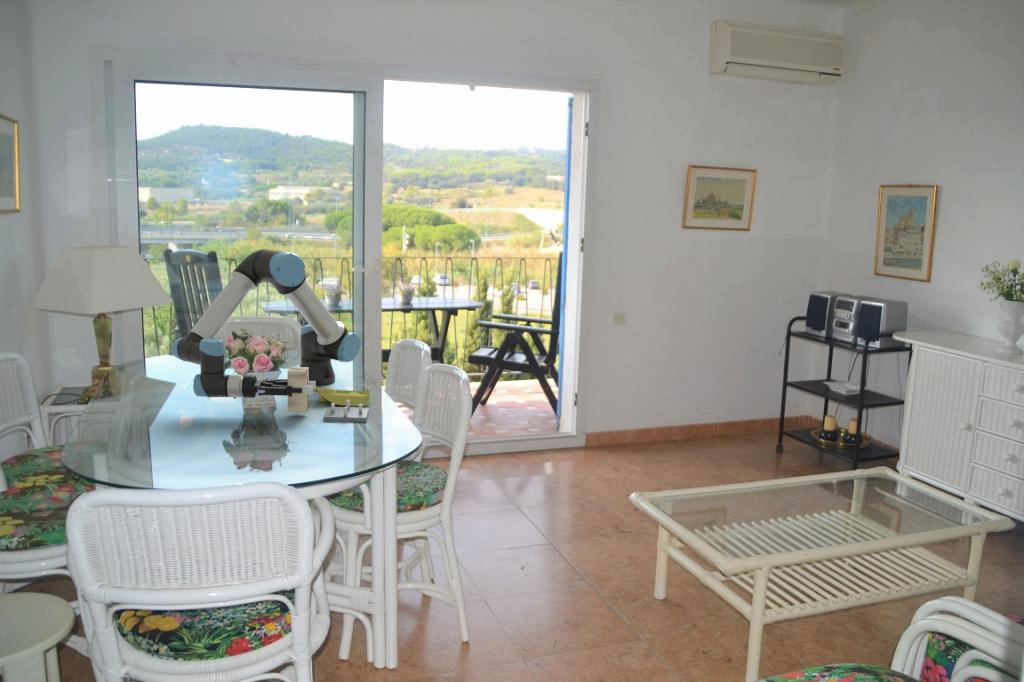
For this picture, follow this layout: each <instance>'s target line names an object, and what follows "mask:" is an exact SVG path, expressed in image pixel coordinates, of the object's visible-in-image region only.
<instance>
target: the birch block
mask: <svg viewBox="0 0 1024 682" xmlns="http://www.w3.org/2000/svg"><path fill="white" fill-rule="evenodd" d="M287 379H288V386H309V367H299V366H290V367H289V368H288V369H287ZM309 399H310V394H292V396H291V397H289V396H287V412H288V413H307V411H308V409H309V408H310V400H309Z"/></svg>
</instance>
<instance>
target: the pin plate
mask: <svg viewBox="0 0 1024 682" xmlns="http://www.w3.org/2000/svg"><path fill="white" fill-rule="evenodd" d="M330 403H331V402H330ZM369 412H370V409H369V408H367V407H363V406H362V404H359V406H358V407H351V406H350V400H346V406H344V407H336V404H335V403H331V404H330V407H329V406H328V407H327V408H326V411H325V412H324V415H323V422H335V421H339V422H338V423H341V422H343V423H344V422H347V423H348V422H349V423H367V421H368V417H369Z"/></svg>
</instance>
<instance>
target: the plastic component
mask: <svg viewBox="0 0 1024 682" xmlns="http://www.w3.org/2000/svg"><path fill="white" fill-rule="evenodd" d="M370 389H371V388H370V387H367V388H366V389H365V390H359V391H358V390H345V389H342V390H341V389H333V388H327V387H322V388H320V387H318V385H316V389H313V392H315V393H318V394H319V395H320V400H319V401H320V403H322V402H329V403H335V405H337V406H344V407H346V400H350V407H359V404H362V407H366V406H367V405H368V404H369V403H370Z"/></svg>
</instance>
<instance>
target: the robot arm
mask: <svg viewBox="0 0 1024 682" xmlns="http://www.w3.org/2000/svg"><path fill="white" fill-rule="evenodd" d="M306 272H307V271H306V265H305V262H304V260H303V259H302V258H301V257H300V256H299V255H298V254H296V253H293V252H290V251H285V250H274V249H266V248H263V249H258V250H255V251H252V252H251V253H250V254H248V255H247V256H246V257H245V258H244V259H242V260H241V262H240V263H238V265H237V266H236V267H235V268H234V269H233V271H232V273H231V278H230V280H228V282H227V283H226V285H225V286H224V287H223V289H222V290H221V291H220V293H219V294H218V295H217V296H216V297H215V299H214V300H213V302H212V303H211V304H210V305H209V306H208V307H207V309H206V310H205V312H204V313H203V314H202V315H201V317H200V318H199V319H198V321H197V322H196V323H195V325H194V326H193V327H192V328H191V330H190V331H189V332H188V333H187V335H185V337H180V338H177V339H176V340H174V342H173V344H172V345H171V352H172V355H173V356H174V357H175V358H177V359H178V360H181V361H183V362H186V363H187V362H188V363H192V364H195V365H198V366H200V373H198V374H196V375H195V376H194V378H193V385H192V386H193V387H192V388H193V389H192V390H193V393H194V395H195V396H196V397H201V398H202V397H203V398H233V400H236V399H237V398H242V397H243V398H249V399H250V398H251V399H254V398H255V397H256V396H257V395H258V396H284V397H288V396H289V397H291V396H292V394H309V395H314V389H316V386H323V385H330V384H333V383H335V382H336V374H335V371H334V368H333V364H332V360H334V361H339V362H341V363H342V362H343V363H350V362H353V361H354V360H355V359H356V358H357V357H358V355H359V353H360V352H361V344H362V343H361V337H360V335H358V334H357V333H356V332H353V331H352V332H351V331H349V330H348V329H347V327H346V326H345V325H344V323H343V322H342V321H339V320H338V321H336V319H335V318H334V316H333V315H332V314H331V313H330V311H329V310H328V308H327V307H326V306H325V305H324V304H323V302H322V301H321V299H320V298H319V297H318V295H317V294H316V292H314V290H313V288H312V287H311V286H310V285H309V284H308V282H307V274H306ZM262 283H268V284H271V286H272V287H274V289H275V291H277V293H278V294H279V295H280V296H281V295H282V296H286V297H287V298H288V300H289V301H290V302H291V303H292V305H293V306H294V307H295V308H296V309H297V311H298V312H299V313H300V315H301V316H302V317H303V318H304V320H305V321H306V322H307V323H308V324H305V325H302V327H301V329H300V363H299V366H298V367H309V386H288V378H268V377H267V378H265V379H262V380H259V381H258V380H257V379H258V378H257V376H256V375H255V374H245V375H243V374H226V372H225V371H226V368H225V362H226V361H225V360H226V358H225V357H226V356H225V353H226V351H225V342H224V340H223V339H222V338H218V337H217V338H216V336H217V334H218V333H219V332H220V330H222V328H223V327H224V326H225V324H226V322H227V321H228V320H229V319H230V317H231V316H233V314H234V313H235V312H236V309H238V308H239V306H240V305H241V303H242V302H243V301H244V299H245V298H246V297H247V295H249V293H250V292H251V291H254V290H256V289H257V287H258V286H259V285H261V284H262Z"/></svg>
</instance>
